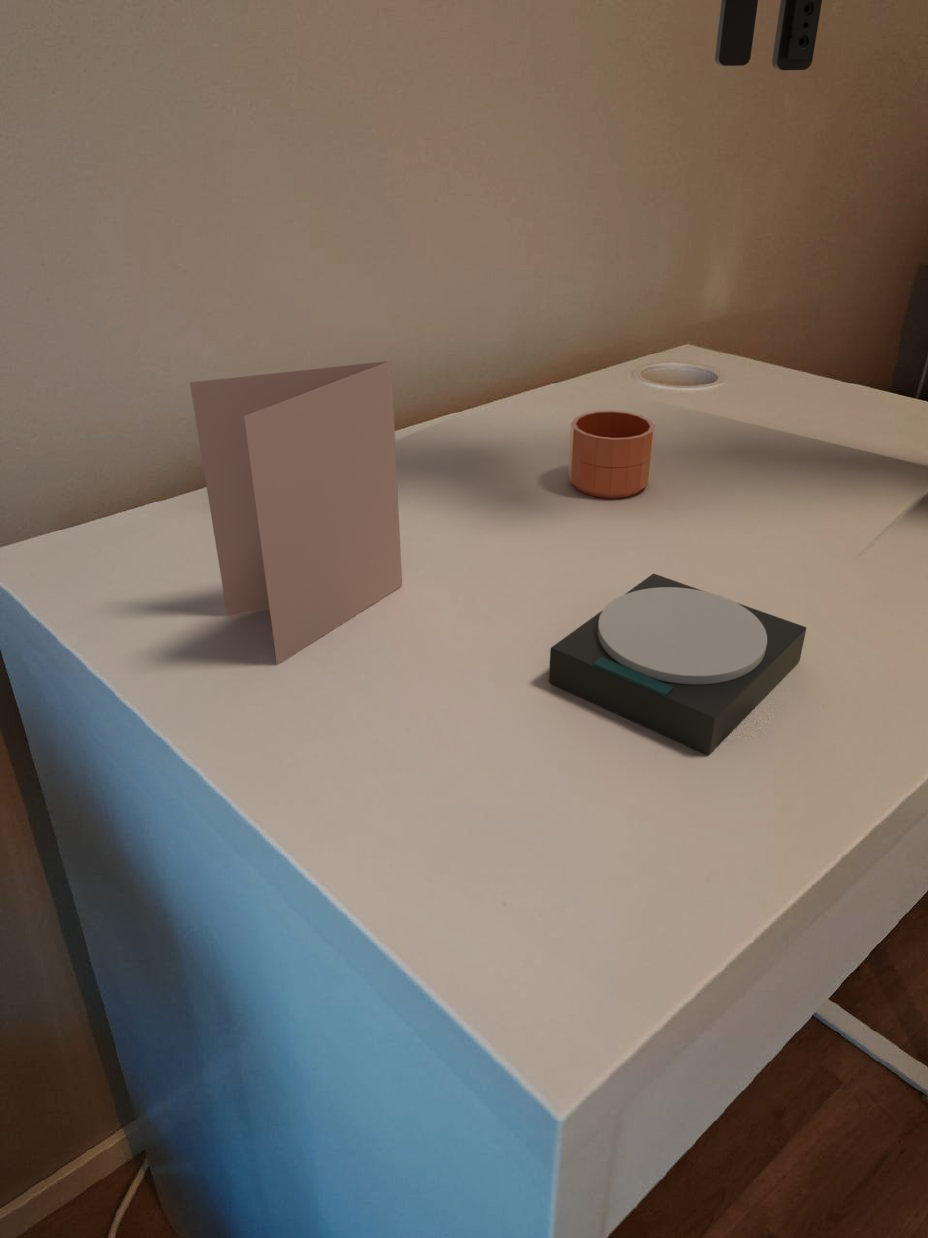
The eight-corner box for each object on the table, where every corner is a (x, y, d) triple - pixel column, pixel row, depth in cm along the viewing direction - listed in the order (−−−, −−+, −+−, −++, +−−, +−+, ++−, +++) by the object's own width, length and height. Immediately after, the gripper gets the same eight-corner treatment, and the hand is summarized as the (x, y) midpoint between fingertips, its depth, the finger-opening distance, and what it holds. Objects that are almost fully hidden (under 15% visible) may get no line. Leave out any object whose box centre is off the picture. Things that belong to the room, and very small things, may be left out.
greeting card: (398, 579, 65) (387, 356, 57) (431, 635, 59) (423, 395, 51) (225, 608, 61) (188, 377, 54) (241, 671, 56) (201, 421, 48)
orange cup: (597, 462, 82) (601, 404, 79) (663, 481, 78) (670, 422, 75) (552, 486, 77) (555, 426, 75) (620, 507, 74) (626, 445, 71)
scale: (649, 605, 61) (654, 564, 60) (800, 661, 56) (809, 617, 54) (548, 683, 54) (550, 638, 53) (708, 756, 49) (716, 708, 47)
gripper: (948, -314, 47) (874, 71, 55) (808, -245, 59) (765, 63, 67) (804, -322, 46) (751, 73, 54) (691, -250, 58) (662, 64, 66)
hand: (759, 67), depth 61 cm, fingers open, 8 cm apart
